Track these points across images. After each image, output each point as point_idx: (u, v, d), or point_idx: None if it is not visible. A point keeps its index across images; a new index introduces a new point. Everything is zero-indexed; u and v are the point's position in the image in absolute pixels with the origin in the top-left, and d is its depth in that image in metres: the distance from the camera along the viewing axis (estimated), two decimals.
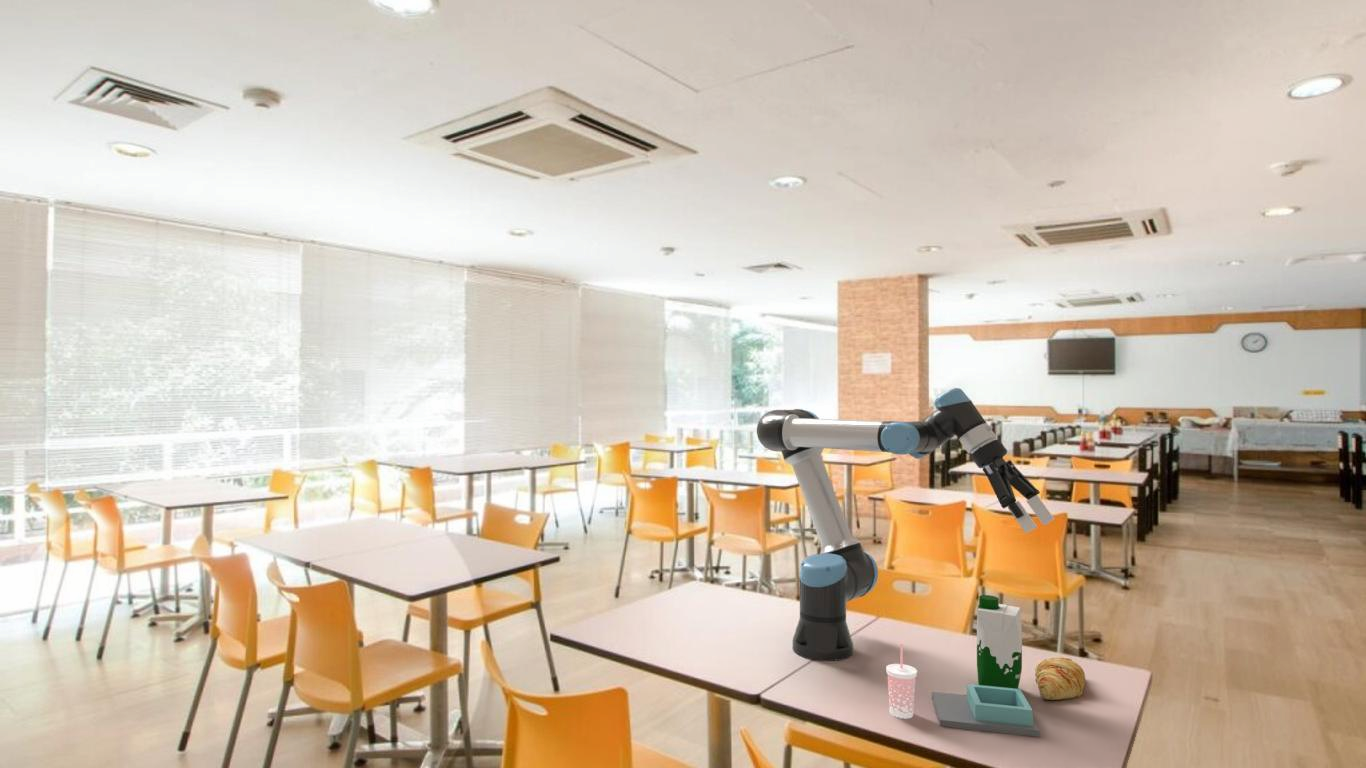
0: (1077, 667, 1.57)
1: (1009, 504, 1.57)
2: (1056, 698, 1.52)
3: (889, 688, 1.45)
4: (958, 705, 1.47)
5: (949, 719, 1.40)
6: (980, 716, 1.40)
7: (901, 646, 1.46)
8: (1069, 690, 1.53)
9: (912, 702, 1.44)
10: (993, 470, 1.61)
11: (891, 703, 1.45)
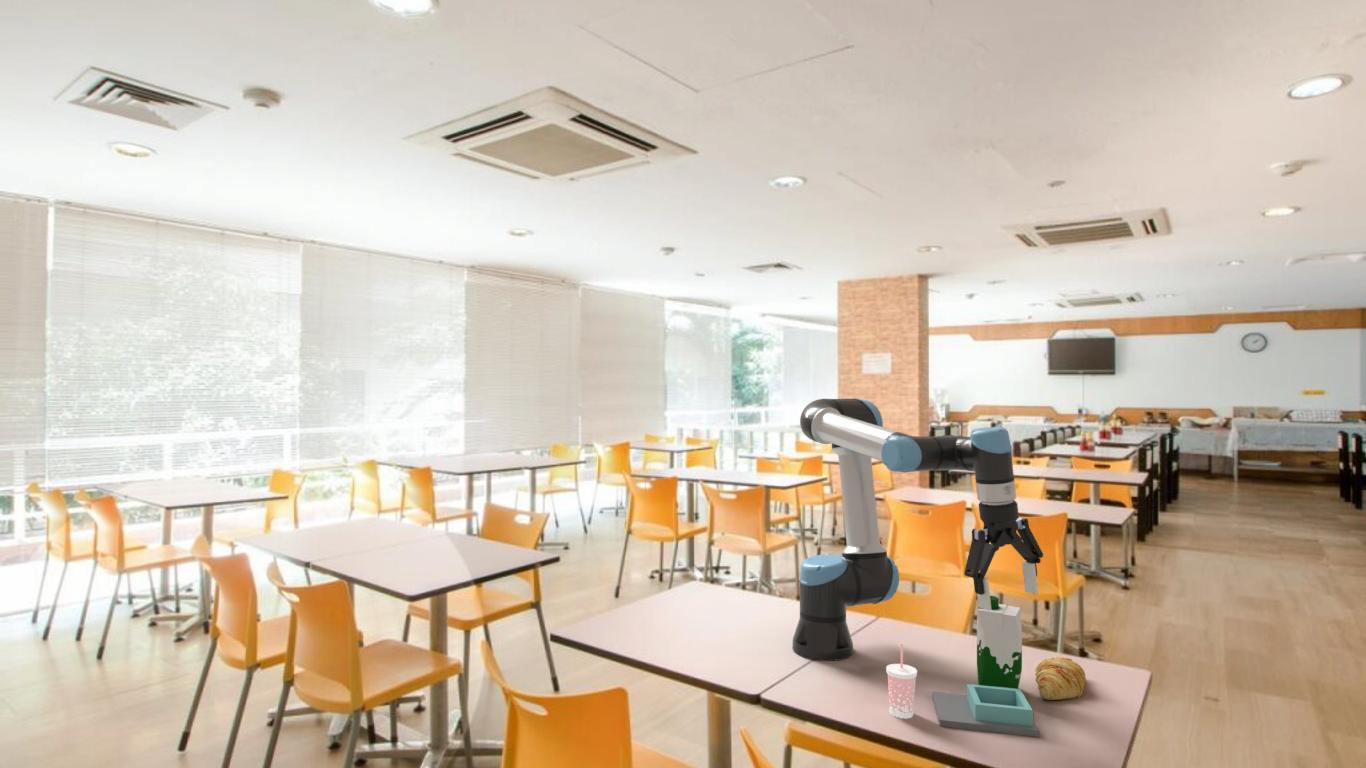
0: (1077, 667, 1.57)
1: (974, 578, 1.47)
2: (1056, 698, 1.52)
3: (889, 688, 1.45)
4: (958, 705, 1.47)
5: (949, 719, 1.40)
6: (980, 716, 1.40)
7: (901, 646, 1.46)
8: (1069, 690, 1.53)
9: (912, 702, 1.44)
10: (979, 539, 1.47)
11: (891, 703, 1.45)
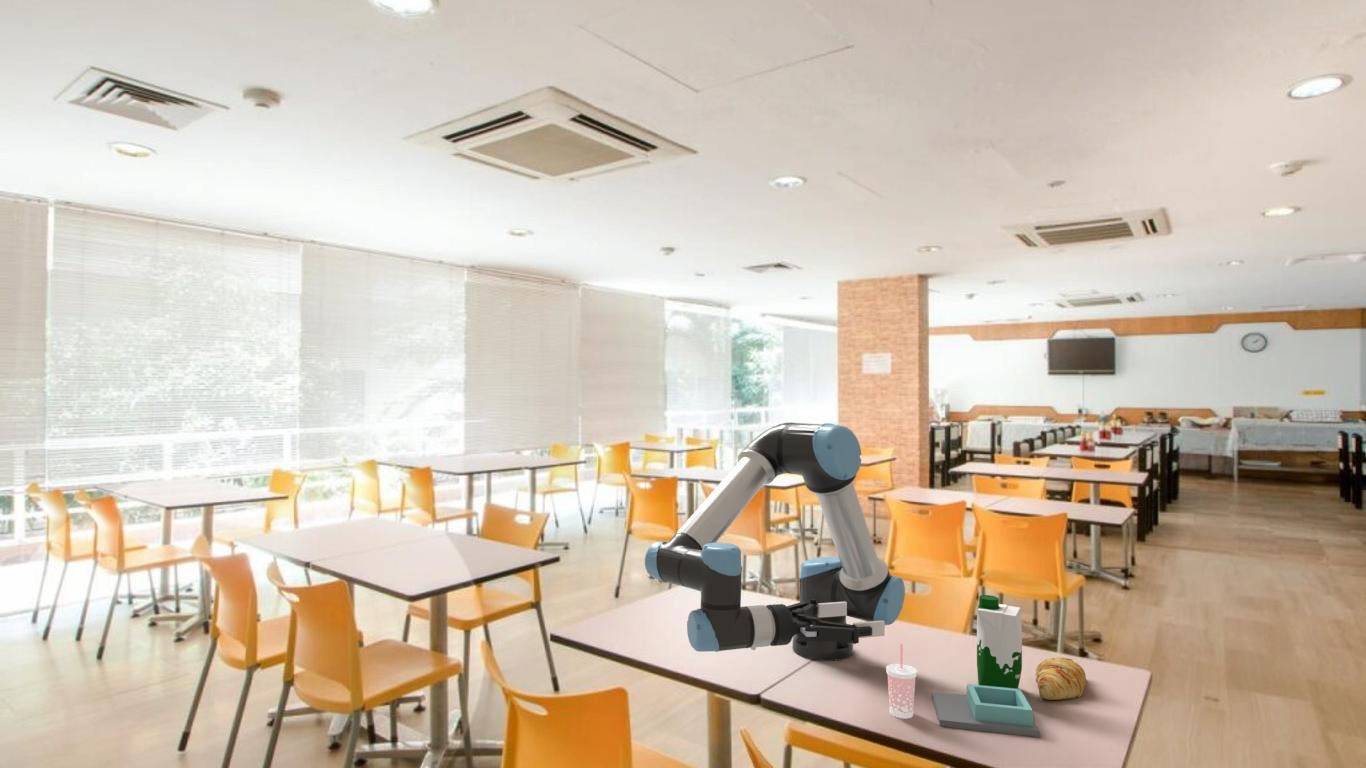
0: (1078, 667, 1.57)
1: None
2: (1055, 698, 1.52)
3: (889, 688, 1.45)
4: (958, 705, 1.47)
5: (949, 719, 1.40)
6: (980, 716, 1.40)
7: (901, 646, 1.46)
8: (1069, 690, 1.52)
9: (912, 702, 1.44)
10: None
11: (891, 703, 1.45)
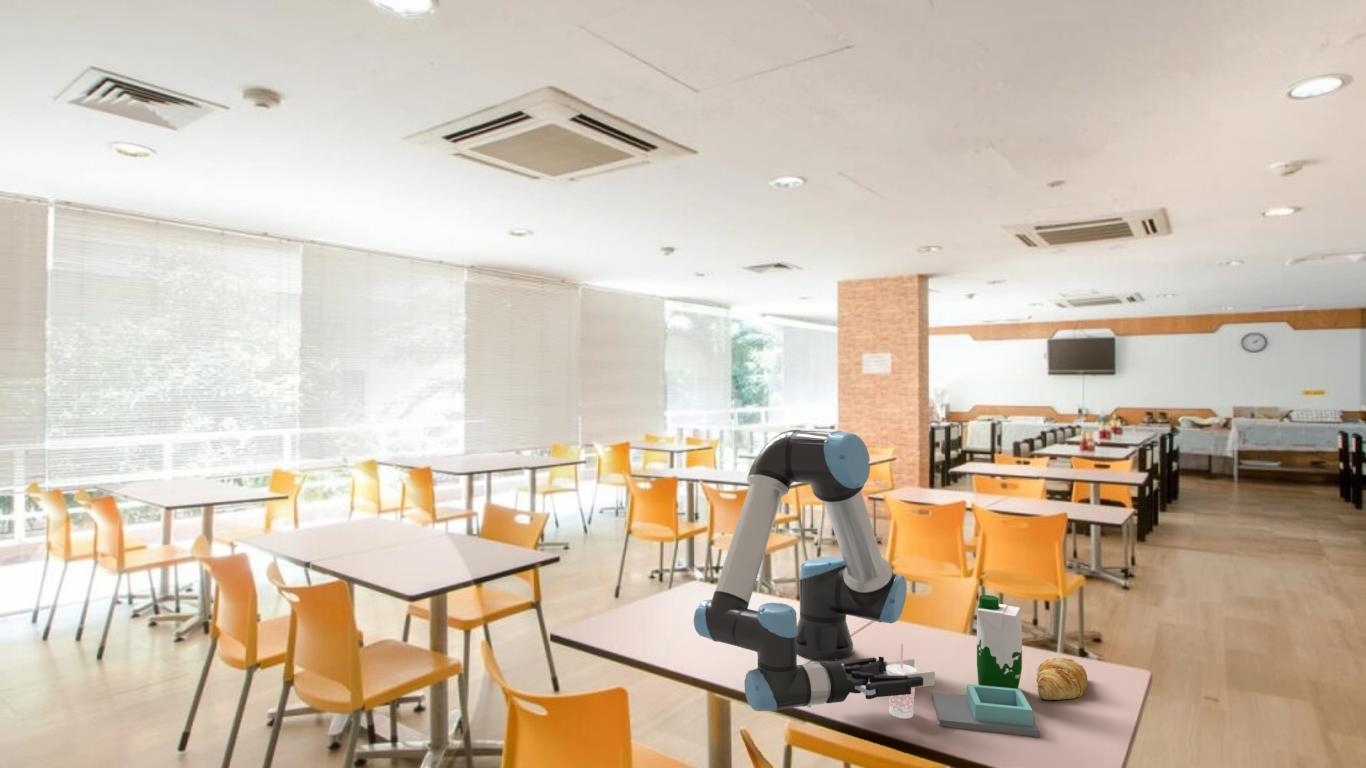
0: (1078, 668, 1.57)
1: None
2: (1054, 698, 1.52)
3: None
4: (958, 705, 1.47)
5: (949, 719, 1.40)
6: (980, 716, 1.40)
7: (901, 646, 1.46)
8: (1069, 690, 1.52)
9: (912, 702, 1.44)
10: None
11: (891, 703, 1.45)
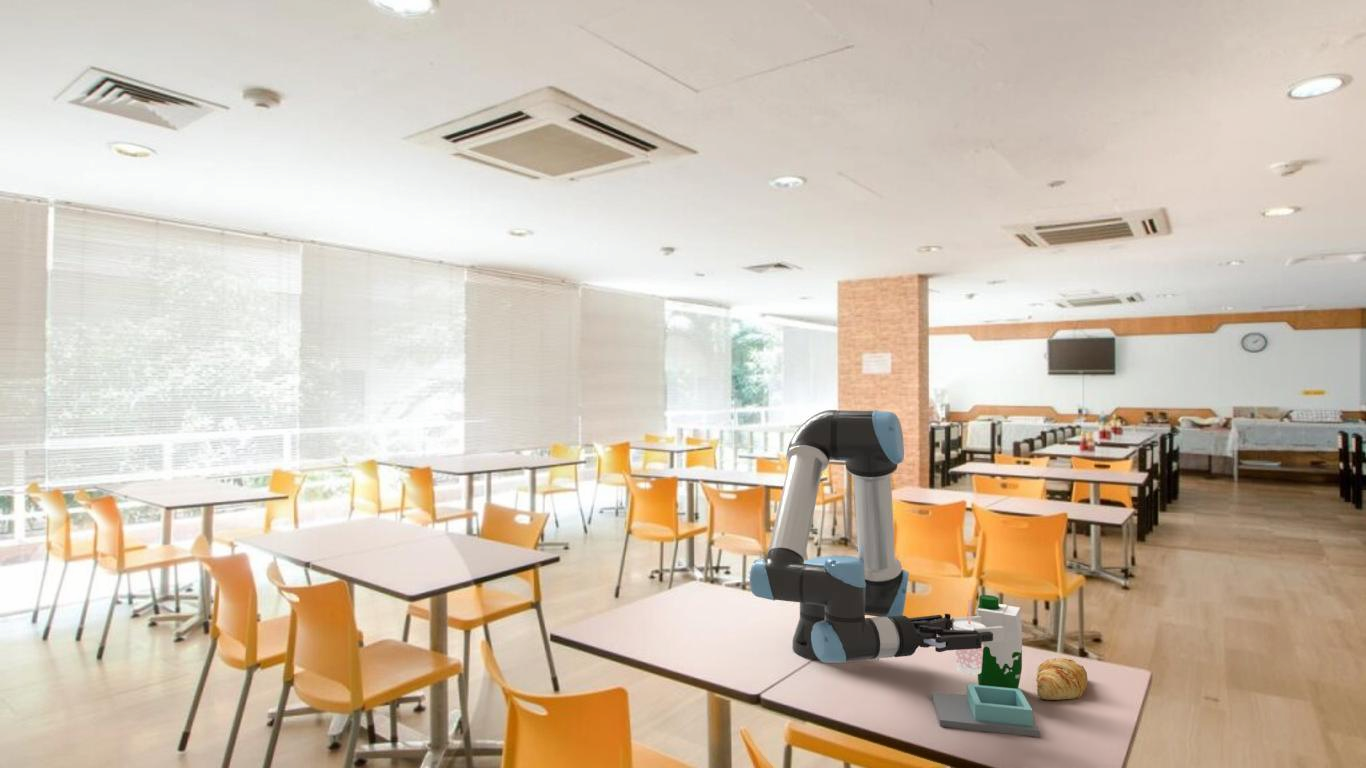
0: (1078, 668, 1.57)
1: None
2: (1054, 698, 1.52)
3: None
4: (958, 705, 1.47)
5: (949, 719, 1.40)
6: (980, 716, 1.40)
7: (969, 602, 1.43)
8: (1068, 690, 1.52)
9: (981, 658, 1.41)
10: None
11: (959, 659, 1.42)
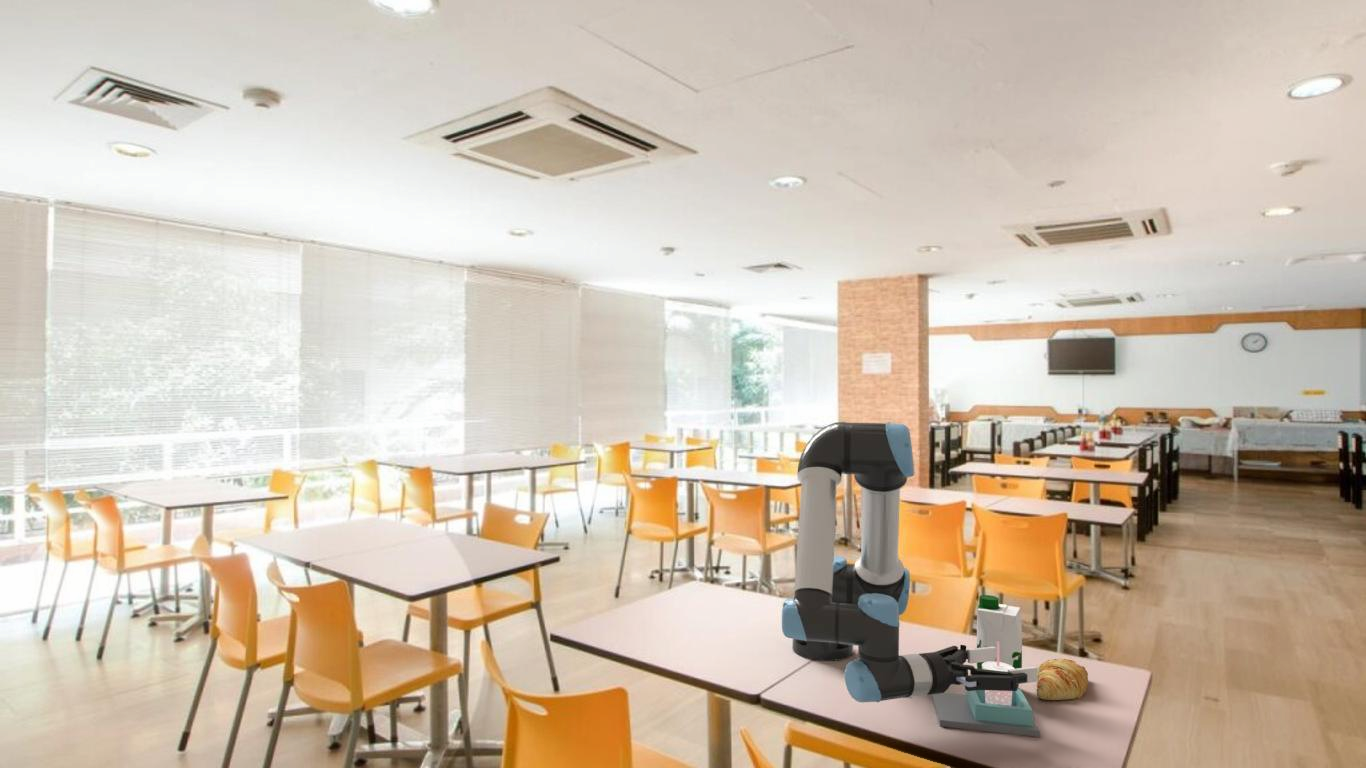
0: (1079, 669, 1.56)
1: None
2: (1053, 698, 1.52)
3: None
4: (958, 705, 1.47)
5: (949, 719, 1.40)
6: (980, 716, 1.40)
7: (997, 644, 1.44)
8: (1068, 691, 1.52)
9: (1010, 700, 1.42)
10: None
11: (989, 701, 1.43)
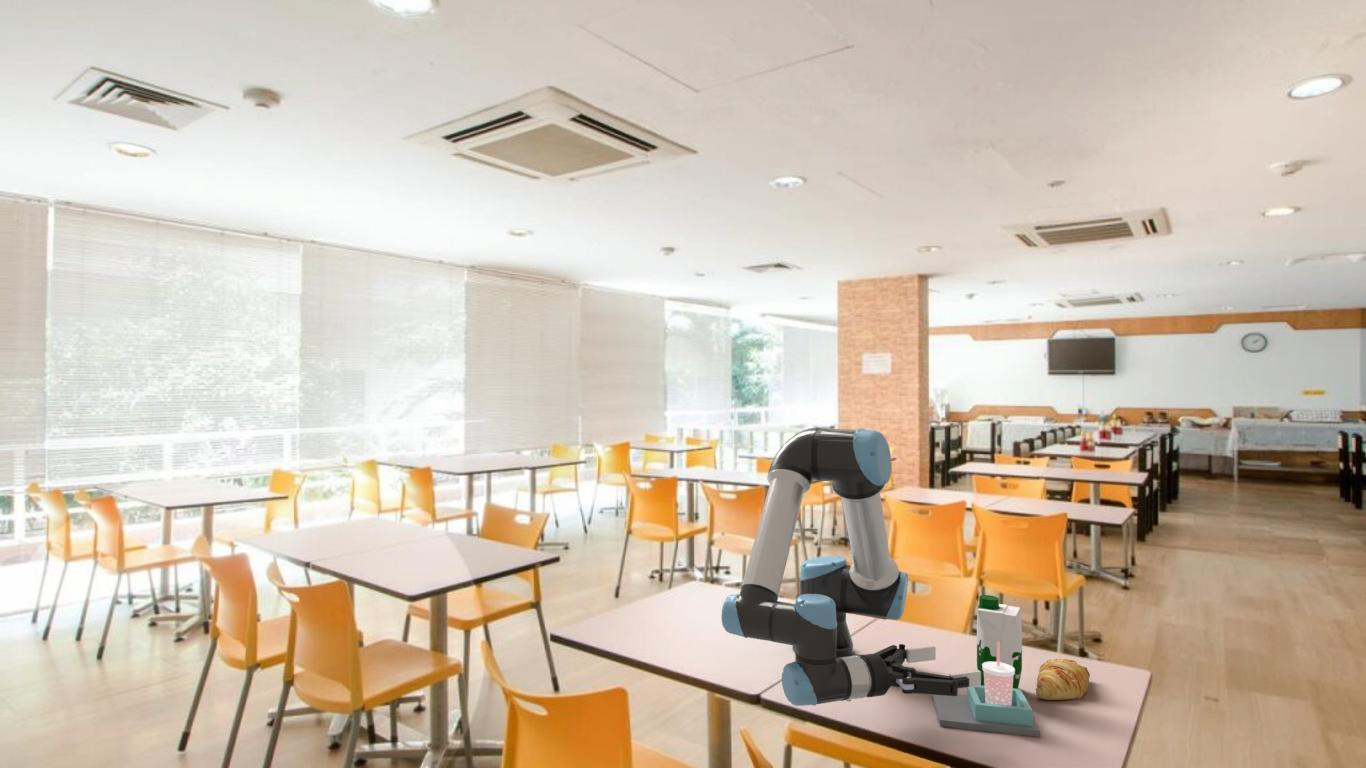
0: (1079, 669, 1.56)
1: None
2: (1052, 698, 1.52)
3: (986, 686, 1.44)
4: (958, 705, 1.47)
5: (949, 719, 1.40)
6: (980, 716, 1.40)
7: (998, 643, 1.44)
8: (1067, 691, 1.52)
9: (1010, 700, 1.42)
10: None
11: (989, 701, 1.43)
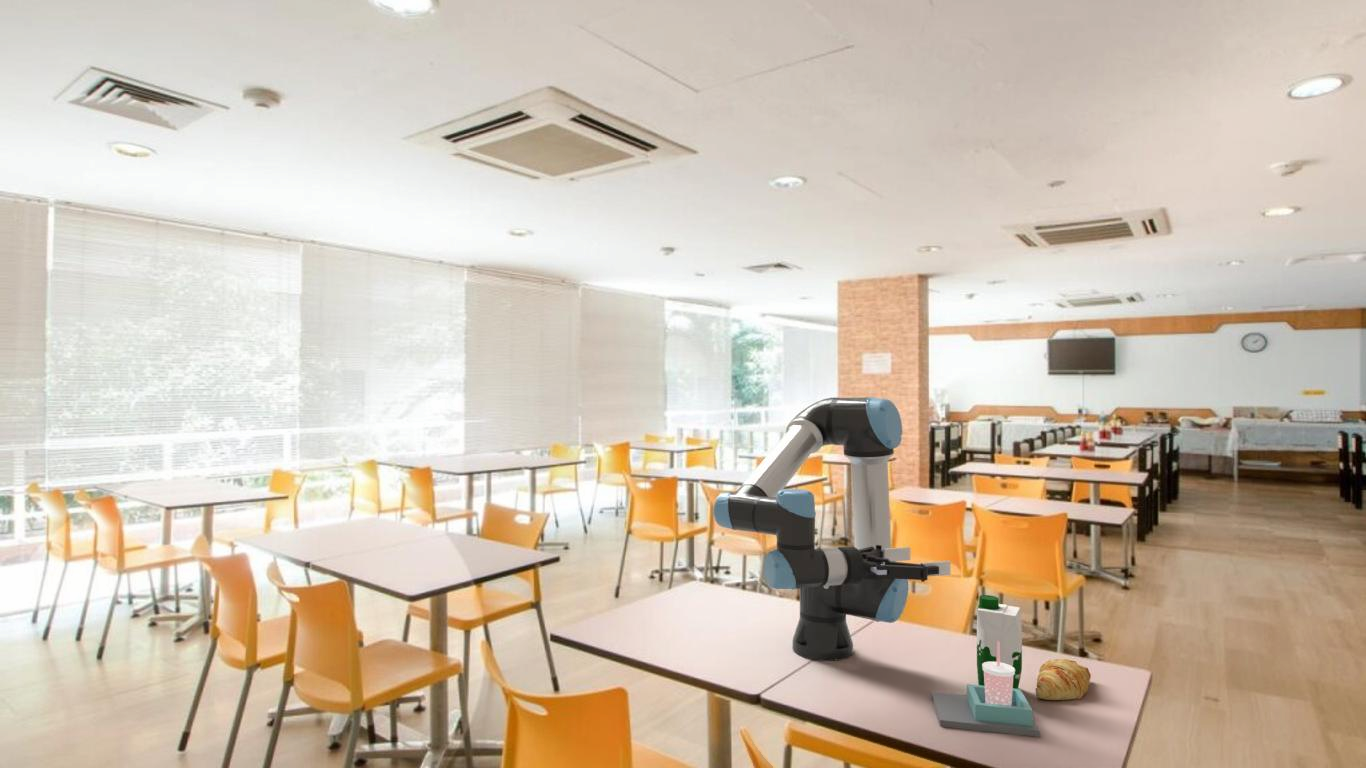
0: (1080, 669, 1.56)
1: None
2: (1052, 698, 1.52)
3: (986, 686, 1.44)
4: (958, 705, 1.47)
5: (949, 719, 1.40)
6: (980, 716, 1.40)
7: (998, 644, 1.44)
8: (1067, 691, 1.52)
9: (1010, 700, 1.42)
10: None
11: (989, 701, 1.43)
